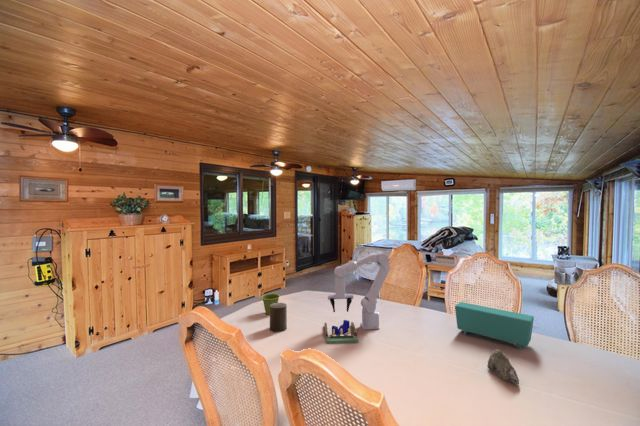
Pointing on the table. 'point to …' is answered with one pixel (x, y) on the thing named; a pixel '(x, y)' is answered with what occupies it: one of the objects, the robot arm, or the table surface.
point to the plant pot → (269, 301)
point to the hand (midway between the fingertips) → (340, 311)
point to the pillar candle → (278, 317)
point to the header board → (342, 338)
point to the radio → (495, 323)
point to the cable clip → (343, 327)
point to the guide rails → (351, 326)
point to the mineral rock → (502, 366)
